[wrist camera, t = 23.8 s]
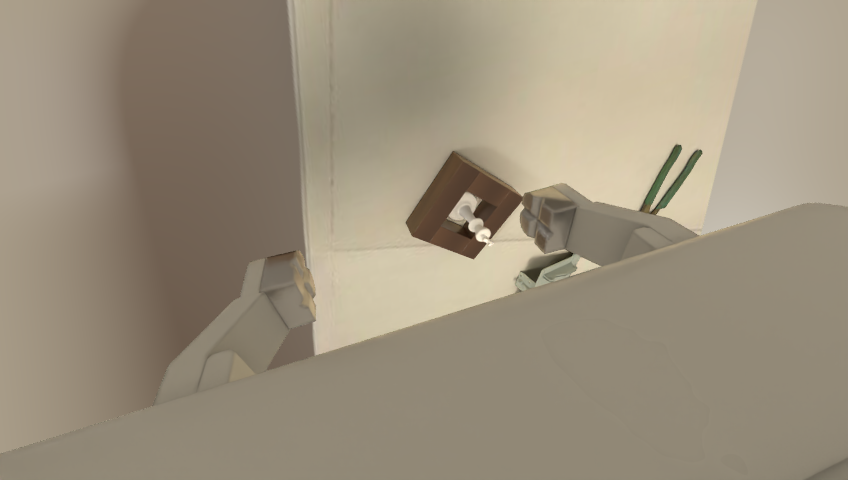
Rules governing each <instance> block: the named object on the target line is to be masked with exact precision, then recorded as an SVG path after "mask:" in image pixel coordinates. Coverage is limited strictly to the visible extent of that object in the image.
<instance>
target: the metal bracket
mask: <svg viewBox="0 0 848 480" xmlns="http://www.w3.org/2000/svg"><path fill="white" fill-rule="evenodd" d="M580 257H581V256H578V255H576V254H573V256H571V257H569V258H567V259H565V260H562V261H560V262H558V263H556V264H553V265H551V266H549V267H546V268H544V269H543V270H542V271H541V273H540V275H539V277H538V279H537V281H536V283H535V282H534V281H533V280H531V279H530V278H529V277H528V276H526V275H525V274H524V273H523V272H520V274H519V276H518V278H517V281H516V283H515V285H516V286H517V287H518V288H519V289H520V290H521V291H525V290H528V289H531V288H534V287H538V286H541V285H544V284H547V283H550V282H554V281H557V280H560V279H563V278H567V277H570V275H571V273H573V272H575V271H576V269H577V267H576V264H577V262H578V261H579V259H580ZM521 275H522V276H521ZM529 282H530V283H529Z"/></svg>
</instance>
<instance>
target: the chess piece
mask: <svg viewBox="0 0 848 480" xmlns="http://www.w3.org/2000/svg"><path fill="white" fill-rule="evenodd" d="M476 206H477V200H476V198H475V196H474V195H473V194H471V193H469V192H468V191H466V192H465V194H464V195H463V196H462V198H461V199H460V200H459V202H458V203H457V205H456V206H455V207H454V209H453V210H452V212H451V213H450V214H449V217H450V218H451V219H453V220H456V221H460V220H464V219H466V220H467V221H468V222H469V226H468V228H469V230H470V231H472V232H475V234H476V239H477V240H478V241H480V242H483V241H484V242H486V243H487V244H488V246H490V247H491V246H492V245H493V243H494V242H493V241H492V240H490V239H489V237H490V235H491V232H490V230H489V229H487V228H485V227H483V221H482V219H480V218H475V217H474V215H473V212H474V211H475V209H476Z"/></svg>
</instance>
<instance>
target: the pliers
mask: <svg viewBox="0 0 848 480" xmlns="http://www.w3.org/2000/svg"><path fill="white" fill-rule="evenodd" d="M681 150H682V147H681V145H678V146H676V147H675V148H674V150H673V153H672V154H671V156H670V158H669V160H668V161H667V162H666V164H665V165H664V167H663V169H662V171H661V172H660V174H659V176H658V178H657V180H656V182H655V183H654V185H653V187H652V189H651V191H650V193H649V195H648V197H647V198H646V200H645V205H644V207H643V209H642V210H641V212H644V213H648V214H650V212H649V210H650V206H651V205H652V203H653V201H654V199H655V197H656V195H657V193H658V191H659V189H660V187H661V185H662V183H663V181H664V179H665V177H666V175H667V173H668V172H669V170H670V168H671V167H672V165H673V164H674V162H675V161H676V159H677V158H678V156H679V154H680V152H681ZM701 155H702V151H701V150H698V151H696V152H695V153H694V155H693V156H692V157H691V159H690V161H689V163H688V164H687V166H686V168H685V170H684V171H683V173H682V174H681V176H680V177H679V178H678V179H677V181H676V182H675V183H674V185H673V186H672V187H671V189H670V190H669V191H668V192H667V194H666V195H665V197H664V198H663V200H662V201H661V202H660V203H659V205H658V206H657V207H656V209H655V210H654V211H653V212H652V213H651V214H652V215H656V214H657V213H658V211H659V210H660V209H662V208H665V207H666V206H667V204H668V203H669V201H670V200H671V199H672V197H673V196H674V195H675V193H676V192H677V190H678V189H679V188H680V186H681V185H682V183H683V182H684V180H685V179H686V178H687V176H688V175H689V173H690V172H691V170H692V169H693V167H694V165H695V163H696V162H697V160H698V159H699V157H700V156H701Z"/></svg>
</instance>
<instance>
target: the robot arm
mask: <svg viewBox="0 0 848 480" xmlns="http://www.w3.org/2000/svg"><path fill="white" fill-rule="evenodd" d="M522 204H523V205H524V207H525V208H524V209H523V210H522V212H521V213H520V223H521V227H522V229H523V231H524V233H525V234H526V235H527V236H529V237H532V238H535V241H534V243H535V244H536V245H537V246H538V247H539V248H540V250H541V251H542V252H543V253H544V254H547V253H550V252H554V251H558V250H562V249H565V250H568V251H570V252H572V253H574V254H576V255H578V256H581V257H583V258H585V259H587V260H589V261H591V262H594V263H596V264H598V265H600V266H602V267H599V268H595V269H592V270H589V271H586V272H583V273H580V274H576V275H573V276H570V277H567V278H563V279H560V280H557V281H554V282H550V283H547V284H544V285H541V286H538V287H534V288H531V289H528V290H525V291H521V292H518V293H515V294H512V295H508V296H505V297H502V298H499V299H496V300H492V301H489V302H486V303H483V304H480V305H476V306H473V307H470V308H467V309H464V310H460V311H457V312H454V313H451V314H448V315H444V316H441V317H438V318H435V319H432V320H428V321H425V322H422V323H419V324H416V325H412V326H409V327H406V328H403V329H400V330H396V331H393V332H390V333H387V334H384V335H380V336H377V337H374V338H371V339H367V340H364V341H361V342H358V343H355V344H351V345H348V346H345V347H342V348H339V349H335V350H332V351H329V352H326V353H323V354H319V355H316V356H313V357H310V358H307V359H303V360H300V361H297V362H294V363H291V364H288V365H284V366H281V367H278V368H275V369H271V370H268V371H266V370H267V368H268V366H269V364H270V363H271V361H272V359H273V358H274V356H275V354H276V353H277V351H278V349H279V348H280V346H281V344H282V343H283V341H284V339H285V338H286V336H287V334H288V333H289V329H292V328H296V327H299V326H302V325H305V324H308V323H311V322H314V321H316V305H315V303H314V301H313V298H314V297H315V285H314V280H313V277H312V274H311V272H310V270H309V269H308V268H306V267H304V261H305V259H304V257H303V255H302V254H301V252H300V251H299V250H297V251H293V252H288V253H284V254H280V255H276V256H271V257H267V258H263V259H259V260H255V261H251V262H250V263H249V264H248V267H247V271H246V275H245V279H244V283H243V287H242V291H241V295H240V298H238V299H235V300H234V301H233V302H232V303H231V304H230V305H229V306H228V307H227V308H226V309H225V310H224V311H223V312H222V313H221V314H220V315H219V316H218V317H217V318H216V319H215V320H214V321H213V322H212V323H211V324H210V325H209V326H208V327H207V328H206V329H205V330H204V331H203V332H202V333H201V334H200V335H199V336H198V337H197V338H196V339H195V340H194V341H192V342H191V344H190V345H188V347H186V349H184V351H183V352H181V354H179V356H178V357H176V359H174V361H172V362H171V364H169V366H168V368H167V370H166V373H165V375H164V378H163V380H162V383H161V385H160V388H159V390H158V393H157V395H156V398H155V400H154V403H153V405H152V407H149V408H146V409H143V410H139V411H136V412H133V413H130V414H127V415H124V416H120V417H117V418H114V419H111V420H107V421H104V422H101V423H98V424H94V425H91V426H88V427H85V428H82V429H78V430H75V431H72V432H69V433H66V434H62V435H59V436H56V437H53V438H49V439H46V440H43V441H40V442H37V443H33V444H30V445H27V446H24V447H20V448H18V449H14V450H11V451H7V452H4V453H1V454H0V480H848V207H845V206H838V205H831V204H822V203H807V204H802V205H797V206H794V207H791V208H788V209H784V210H781V211H778V212H775V213H772V214H769V215H765V216H762V217H759V218H756V219H753V220H750V221H746V222H743V223H740V224H736V225H733V226H730V227H727V228H724V229H720V230H717V231H714V232H711V233H708V234H705V235H701V236H699V235H697V234H695V233H694V232H692V231H690V230H689V229H687V228H685V227H684V226H682V225H680V224H678V223H677V222H675V221H673V220H672V219H670V218H665V217H661V216H657V215H652V214H648V213H644V212H639V211H635V210H630V209H626V208H622V207H617V206H613V205H609V204H604V203H600V202H594V203H593V202H591V201H590V200H588V199H587V198H586V197H584V196H583V195H581V194H580V193H578V192H577V191H575V190H574V189H572V188H571V187H569V186H568V185H567V184H564V183H559V184H556V185H552V186H549V187H547V188H543V189H539V190H535V191H531V192H528V193H525V194H524V196H523V198H522Z"/></svg>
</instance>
